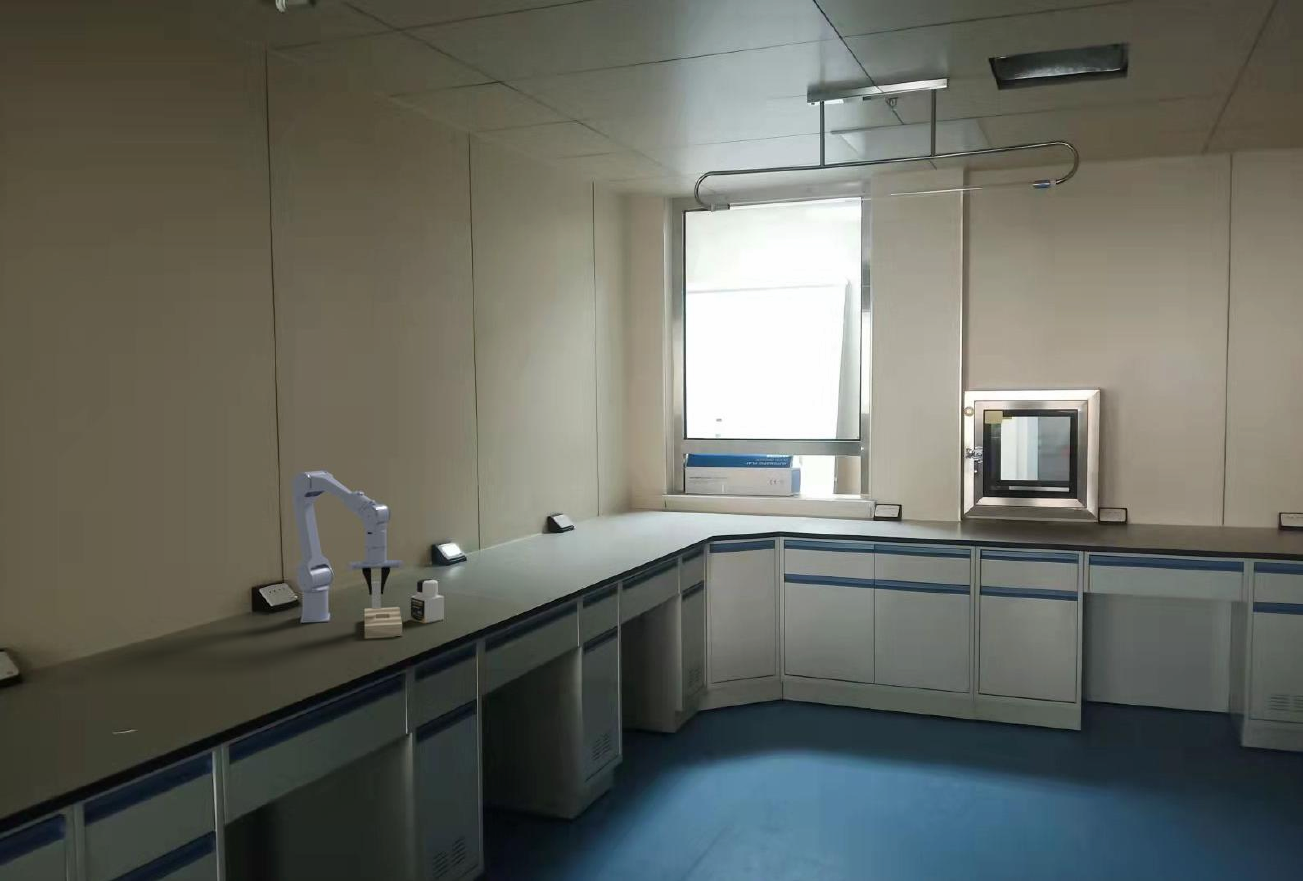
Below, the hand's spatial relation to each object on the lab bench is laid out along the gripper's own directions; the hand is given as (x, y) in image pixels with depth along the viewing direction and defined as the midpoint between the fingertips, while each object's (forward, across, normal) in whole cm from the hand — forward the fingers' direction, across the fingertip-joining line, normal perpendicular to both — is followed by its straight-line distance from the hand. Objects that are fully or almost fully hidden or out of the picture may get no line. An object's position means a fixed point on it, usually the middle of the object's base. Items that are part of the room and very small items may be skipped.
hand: (376, 593), depth 287 cm
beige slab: (+10, +2, 0) cm, 10 cm away
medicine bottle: (+10, +15, +8) cm, 20 cm away
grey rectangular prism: (+4, 0, 0) cm, 4 cm away
